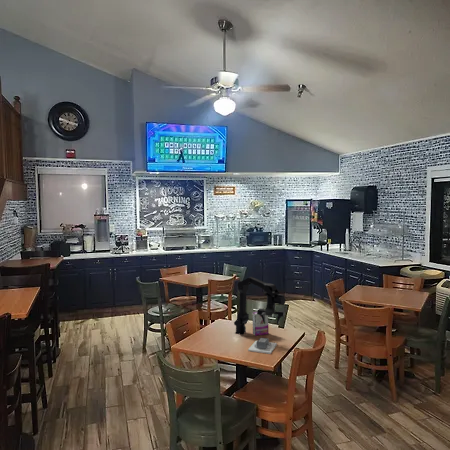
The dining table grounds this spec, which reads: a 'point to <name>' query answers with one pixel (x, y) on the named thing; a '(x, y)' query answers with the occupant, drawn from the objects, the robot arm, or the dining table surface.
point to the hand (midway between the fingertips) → (270, 324)
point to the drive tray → (267, 350)
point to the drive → (262, 343)
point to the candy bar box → (260, 325)
